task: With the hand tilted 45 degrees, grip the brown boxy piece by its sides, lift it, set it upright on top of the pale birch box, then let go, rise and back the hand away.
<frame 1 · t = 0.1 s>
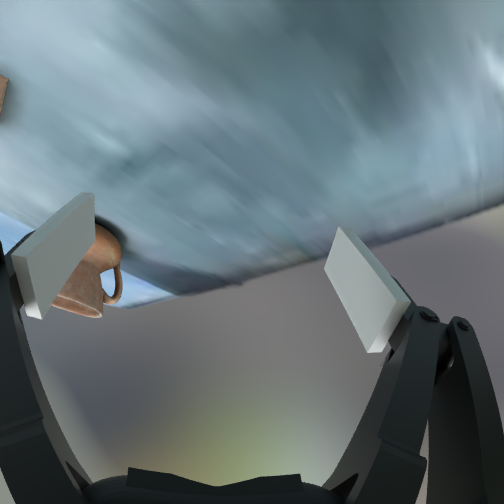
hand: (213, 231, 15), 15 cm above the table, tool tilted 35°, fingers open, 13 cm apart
ceramic jug: (91, 231, 47), on the table
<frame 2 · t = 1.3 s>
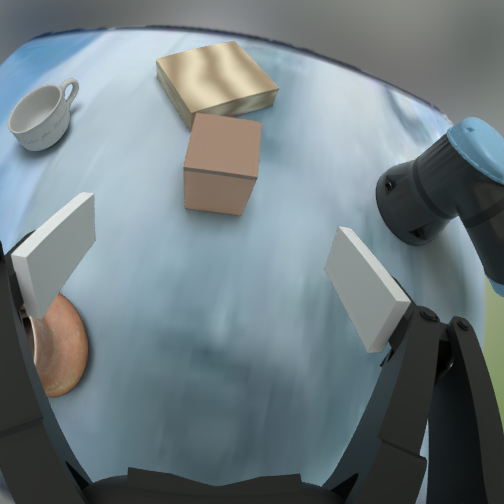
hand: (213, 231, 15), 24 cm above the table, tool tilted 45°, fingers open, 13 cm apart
ceramic jug: (49, 345, 31), on the table
brown boxy piece: (216, 187, 42), on the table
birch box: (212, 90, 48), on the table
teacup: (56, 129, 40), on the table
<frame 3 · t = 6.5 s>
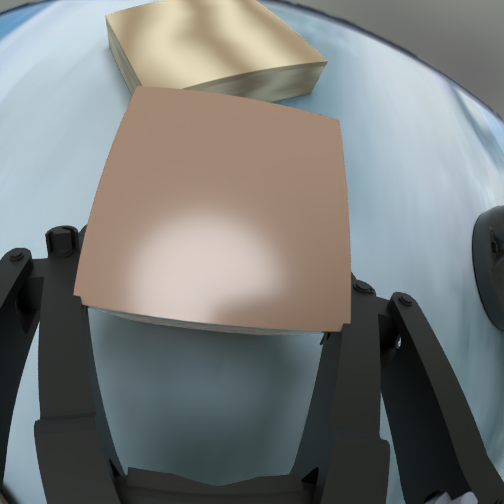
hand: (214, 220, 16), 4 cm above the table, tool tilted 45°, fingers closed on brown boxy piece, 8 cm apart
brown boxy piece: (206, 268, 19), on the table, touching gripper
birch box: (202, 63, 25), on the table
when the fingers open (10 cm above the table, at t = 12.3 s): brown boxy piece drops 1 cm, resting on birch box.
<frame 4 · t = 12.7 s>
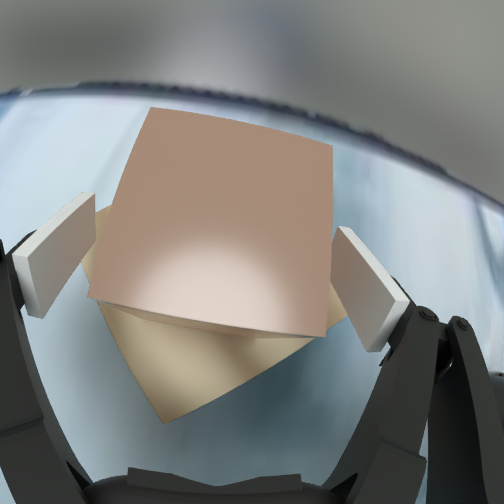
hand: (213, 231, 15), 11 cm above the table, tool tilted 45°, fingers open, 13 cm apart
brown boxy piece: (208, 273, 20), point 4 cm above the table, touching birch box
birch box: (203, 284, 25), on the table, touching brown boxy piece
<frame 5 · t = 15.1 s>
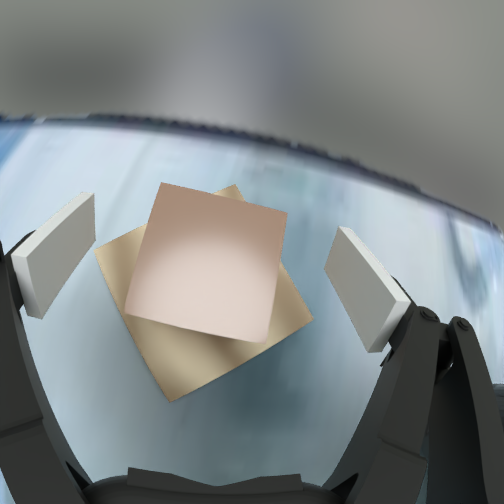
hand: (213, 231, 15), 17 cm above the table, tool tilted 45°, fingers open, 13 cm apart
brown boxy piece: (202, 288, 27), point 5 cm above the table
birch box: (200, 294, 32), on the table
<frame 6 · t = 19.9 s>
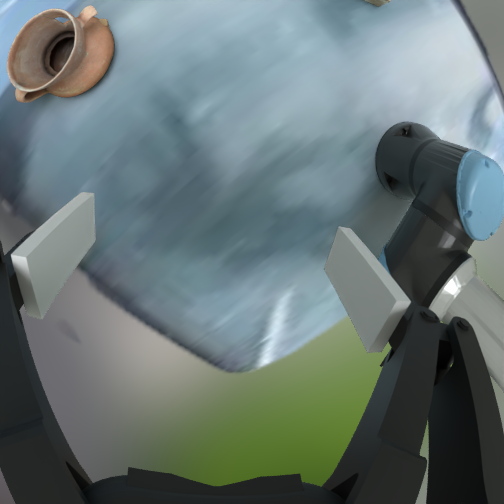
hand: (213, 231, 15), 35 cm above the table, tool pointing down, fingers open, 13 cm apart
ceramic jug: (80, 59, 35), on the table
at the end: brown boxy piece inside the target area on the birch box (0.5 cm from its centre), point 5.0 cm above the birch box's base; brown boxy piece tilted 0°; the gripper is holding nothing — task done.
